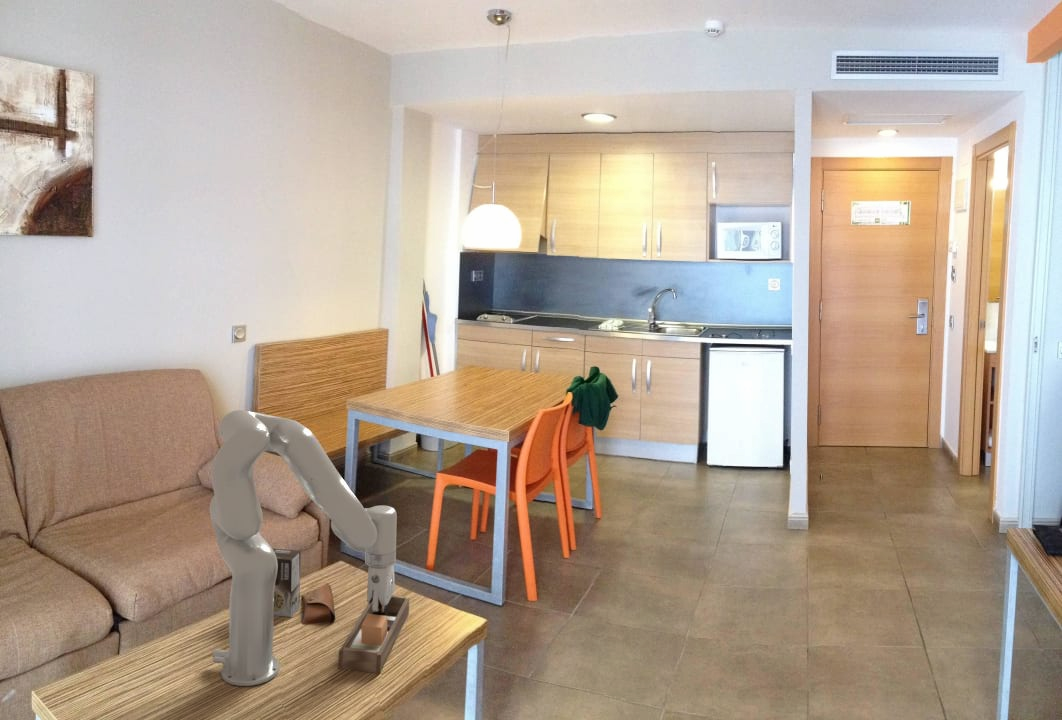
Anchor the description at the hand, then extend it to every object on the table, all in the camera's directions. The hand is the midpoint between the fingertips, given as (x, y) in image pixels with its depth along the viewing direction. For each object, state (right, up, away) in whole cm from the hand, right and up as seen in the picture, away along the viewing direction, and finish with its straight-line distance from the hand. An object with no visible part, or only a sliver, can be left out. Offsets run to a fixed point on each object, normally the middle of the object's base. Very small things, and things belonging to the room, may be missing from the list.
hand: (379, 624), depth 200 cm
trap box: (-1, -4, +1) cm, 4 cm away
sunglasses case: (-20, -1, +15) cm, 25 cm away
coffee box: (-29, -1, +12) cm, 32 cm away
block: (0, -2, -4) cm, 5 cm away
